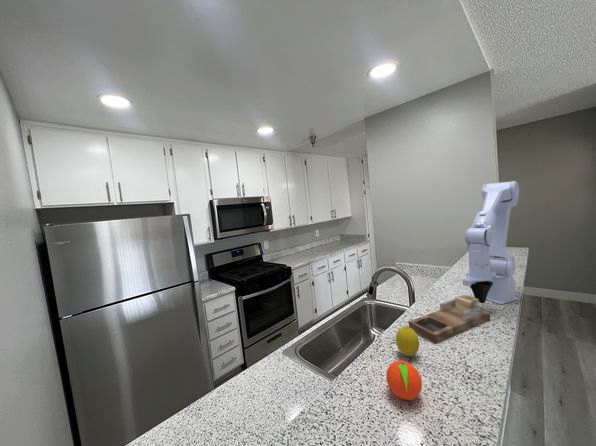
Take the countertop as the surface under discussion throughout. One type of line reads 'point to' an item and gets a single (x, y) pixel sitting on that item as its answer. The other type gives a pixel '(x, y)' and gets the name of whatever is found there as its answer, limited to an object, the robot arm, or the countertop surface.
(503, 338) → the countertop surface
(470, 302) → the maple block
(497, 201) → the robot arm
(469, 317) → the channel walls
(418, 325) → the board
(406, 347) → the lemon
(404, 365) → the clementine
